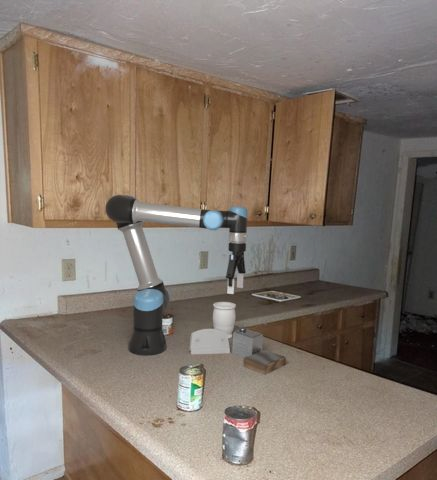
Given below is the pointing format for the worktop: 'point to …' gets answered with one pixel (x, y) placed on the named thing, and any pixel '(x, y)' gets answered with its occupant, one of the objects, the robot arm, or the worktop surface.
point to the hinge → (209, 342)
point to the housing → (246, 342)
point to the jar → (224, 317)
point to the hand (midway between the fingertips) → (235, 290)
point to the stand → (264, 361)
